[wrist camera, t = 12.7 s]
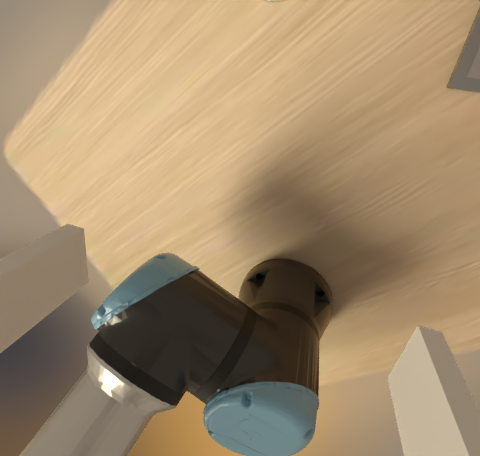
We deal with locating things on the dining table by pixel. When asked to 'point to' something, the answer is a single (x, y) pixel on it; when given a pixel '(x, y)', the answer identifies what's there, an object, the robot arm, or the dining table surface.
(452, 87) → the coaster
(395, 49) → the dining table surface
